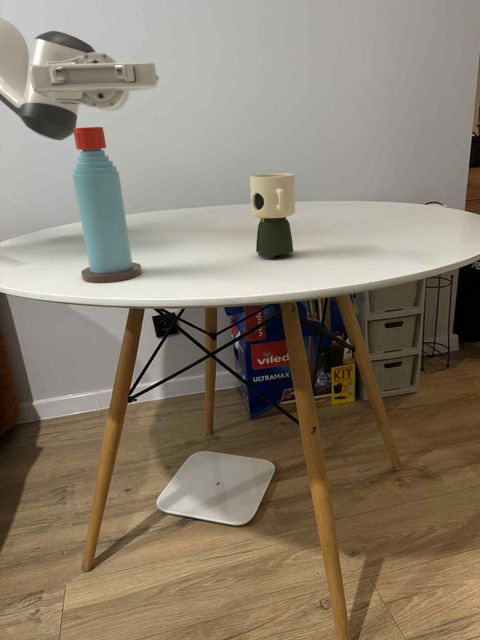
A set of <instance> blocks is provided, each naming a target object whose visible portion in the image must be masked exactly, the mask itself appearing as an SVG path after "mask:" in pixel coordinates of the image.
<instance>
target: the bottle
mask: <svg viewBox="0 0 480 640" xmlns="http://www.w3.org/2000/svg"><path fill="white" fill-rule="evenodd" d="M79 155H80V156H77V162H76V163H75V168H73V169H72V170H73V174H72V180H73V184H74V191H75V196H76V202H77V207H78V212H79V217H80V222H81V228H82V233H83V239H84V243H85V249H86V254H87V255H86V256H87V259H88V260H87V261H88V267H90V271H91V272H93V273H100V274H106V273H116V272H121V271H125V270H128V269H130V268H132V267H133V264H132V262H133V258H132V252H131V245H130V239H129V232H128V225H127V218H126V211H125V205H124V198H123V192H122V186H121V178H120V172H119V171H118V169H117V168H118V167H117V166H116V165H114V163H113V160H110V158H109V155H106V153H105V150H104V149H83V150H79Z"/></svg>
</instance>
